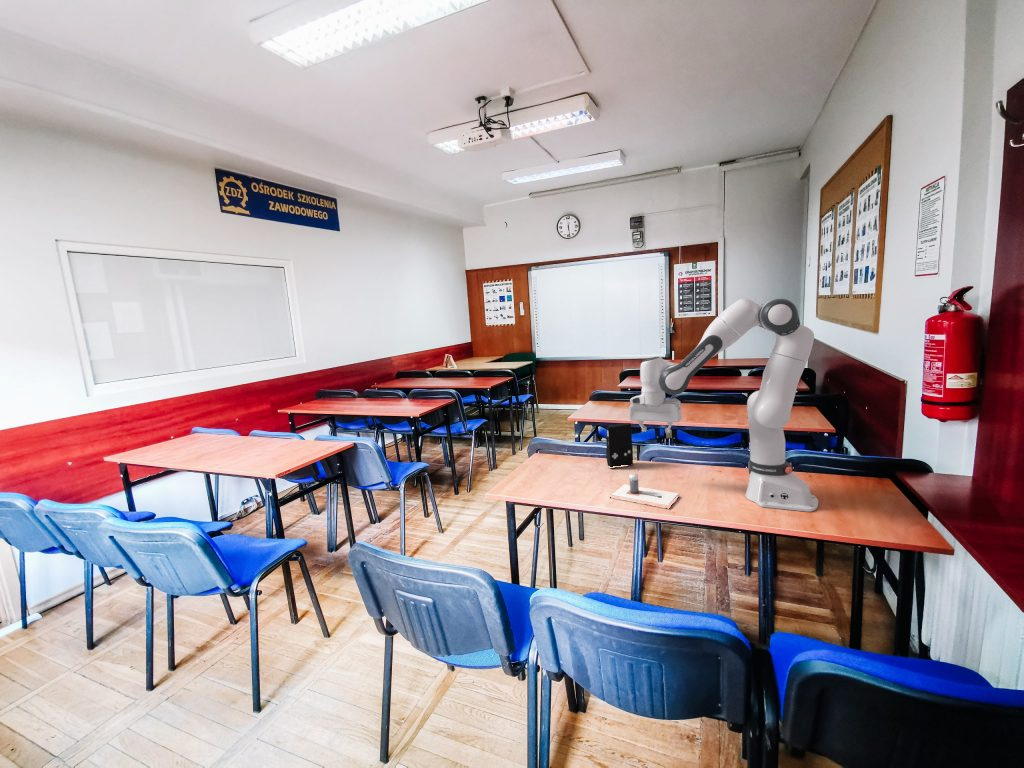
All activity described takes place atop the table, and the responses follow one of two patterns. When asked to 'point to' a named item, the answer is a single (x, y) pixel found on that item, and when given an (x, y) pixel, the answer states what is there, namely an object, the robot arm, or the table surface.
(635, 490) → the white-topped grey cylinder
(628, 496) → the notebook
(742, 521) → the table surface
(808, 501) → the robot arm
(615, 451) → the handheld gaming console
